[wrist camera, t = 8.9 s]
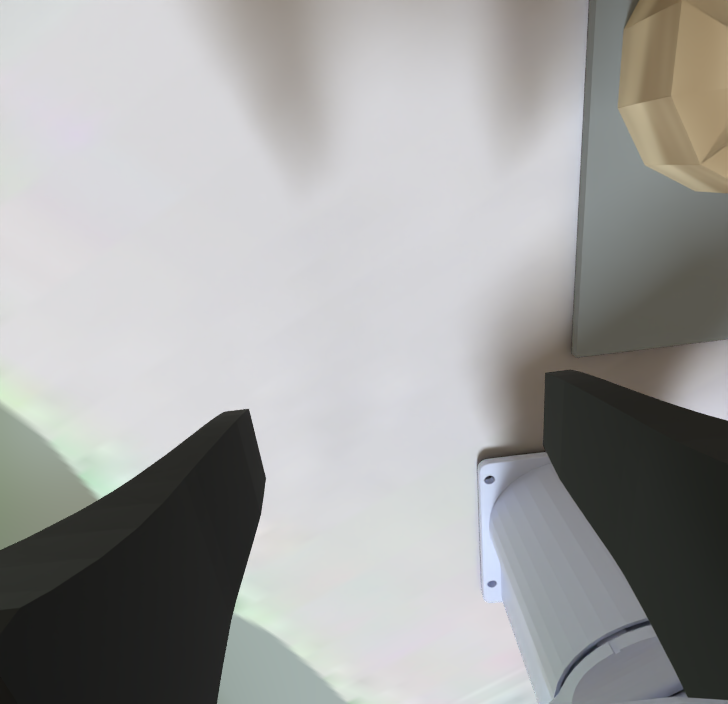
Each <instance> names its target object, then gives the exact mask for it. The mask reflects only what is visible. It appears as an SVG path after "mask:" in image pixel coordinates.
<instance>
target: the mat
mask: <svg viewBox="0 0 728 704" xmlns="http://www.w3.org/2000/svg"><path fill="white" fill-rule="evenodd" d="M638 2H639V0H589V18H588V37H587V57H586V76H585V96H584V115H583V135H582V154H581V174H580V193H579V212H578V232H577V251H576V271H575V290H574V310H573V329H572V349H571V354H573V355H574V356H575V357H576V358H578V357H586V356H594V355H602V354H611V353H619V352H627V351H635V350H643V349H652V348H660V347H668V346H676V345H684V344H693V343H701V342H709V341H717V340H726V339H728V193H713V192H698V191H694V190H692V189H690V188H688V187H686V186H684V185H682V184H680V183H678V182H676V181H674V180H672V179H670V178H669V177H667V176H665V175H663V174H661V173H659V172H657V171H655V170H653V169H651V168H649V167H647V166H645V165H644V163H643V160H642V158H641V156H640V154H639V152H638V150H637V148H636V146H635V144H634V142H633V139H632V137H631V135H630V133H629V131H628V129H627V127H626V125H625V123H624V120H623V118H622V116H621V114H620V112H619V110H618V96H619V83H620V70H621V56H622V43H623V30H624V28H625V26H626V24H627V22H628V20H629V18H630V17H631V15H632V13H633V11H634V9H635V7H636V5H637V3H638Z"/></svg>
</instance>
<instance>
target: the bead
mask: <svg viewBox="0 0 728 704" xmlns="http://www.w3.org/2000/svg"><path fill="white" fill-rule="evenodd" d="M618 110H619V112H620V114H621V116H622V118H623V120H624V123H625V125H626V127H627V129H628V131H629V133H630V135H631V137H632V139H633V142H634V144H635V146H636V148H637V150H638V152H639V154H640V156H641V158H642V160H643V163H644V165H645V166H647V167H649V168H651V169H653V170H655V171H657V172H659V173H661V174H663V175H665V176H667V177H669V178H670V179H672V180H674V181H676V182H678V183H680V184H682V185H684V186H686V187H688V188H690V189H692V190H694V191H698V192H713V193H728V0H639V2H638V3H637V5H636V7H635V9H634V11H633V13H632V15H631V17H630V18H629V20H628V22H627V24H626V26H625V28H624V30H623V43H622V56H621V70H620V83H619V96H618Z"/></svg>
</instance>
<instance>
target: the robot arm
mask: <svg viewBox="0 0 728 704" xmlns="http://www.w3.org/2000/svg"><path fill="white" fill-rule="evenodd" d="M543 446H544V448H545V450H546V452H541V453H533V454H524V455H516V456H507V457H499V458H490V459H485V460H483V461H481V462H480V463H479V464H478V468H477V473H478V501H479V530H480V558H481V587H482V595H483V599H484V600H485V601H486V602H488V603H497V602H503V604H504V607H505V610H506V613H507V616H508V618H509V621H510V624H511V627H512V630H513V633H514V636H515V638H516V641H517V644H518V647H519V650H520V653H521V656H522V658H523V661H524V664H525V667H526V670H527V673H528V675H529V678H530V681H531V684H532V687H533V690H534V693H535V695H536V698H537V701H538V704H728V421H726V420H723V419H719V418H715V417H712V416H708V415H705V414H702V413H698V412H695V411H692V410H689V409H686V408H683V407H679V406H676V405H673V404H670V403H667V402H664V401H661V400H658V399H655V398H653V397H650V396H647V395H644V394H641V393H639V392H636V391H633V390H630V389H628V388H625V387H622V386H619V385H617V384H614V383H611V382H608V381H606V380H603V379H600V378H597V377H594V376H591V375H588V374H585V373H582V372H578V371H574V370H565V371H557V372H549V373H545V401H544V435H543ZM489 475H490V476H492V477H491V478H490V479H485V478H486V477H487V476H489ZM265 481H266V477H265V473H264V469H263V465H262V461H261V456H260V452H259V448H258V444H257V440H256V436H255V432H254V428H253V424H252V420H251V416H250V412H249V409H244V410H235V411H227V412H223V413H221V414H220V415H218V416H217V417H215V418H214V419H212V420H211V421H210V422H208V423H207V424H206V425H204V426H203V427H202V428H200V429H199V430H198V431H196V432H195V433H194V434H193V435H191V436H190V437H189V438H187V439H186V440H185V441H183V442H182V443H181V444H180V445H178V446H177V447H176V448H174V449H173V450H172V451H170V452H169V453H168V454H167V455H165V456H164V457H162V458H161V459H159V460H158V461H157V462H155V463H154V464H152V465H151V466H150V467H148V468H147V469H145V470H144V471H143V472H141V473H140V474H138V475H137V476H136V477H134V478H133V479H131V480H130V481H128V482H127V483H125V484H124V485H122V486H121V487H119V488H117V489H116V490H114V491H113V492H111V493H109V494H108V495H106V496H104V497H103V498H101V499H99V500H98V501H96V502H94V503H93V504H91V505H89V506H87V507H86V508H84V509H82V510H81V511H78V512H77V513H75V514H73V515H71V516H69V517H67V518H65V519H63V520H61V521H59V522H57V523H55V524H53V525H51V526H50V527H47V528H45V529H44V530H42V531H40V532H38V533H36V534H34V535H32V536H30V537H28V538H26V539H24V540H21V541H19V542H17V543H15V544H13V545H11V546H8V547H6V548H4V549H2V550H0V704H217V698H218V692H219V686H220V680H221V674H222V668H223V662H224V657H225V651H226V646H227V640H228V635H229V629H230V624H231V619H232V615H233V611H234V607H235V603H236V599H237V596H238V592H239V589H240V585H241V582H242V579H243V575H244V572H245V568H246V565H247V561H248V558H249V555H250V551H251V548H252V544H253V541H254V537H255V534H256V530H257V527H258V523H259V519H260V516H261V510H262V503H263V497H264V489H265ZM492 580H493V581H492ZM489 581H490V582H489Z"/></svg>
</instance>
